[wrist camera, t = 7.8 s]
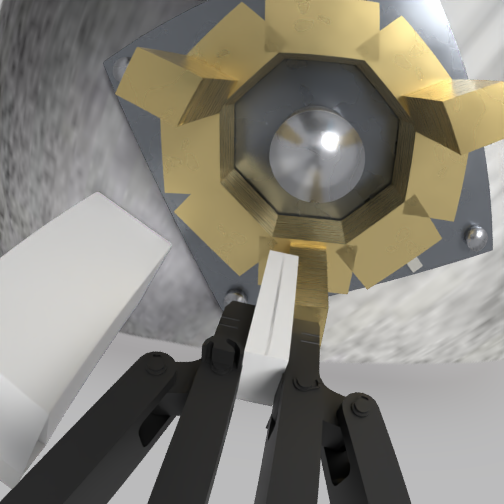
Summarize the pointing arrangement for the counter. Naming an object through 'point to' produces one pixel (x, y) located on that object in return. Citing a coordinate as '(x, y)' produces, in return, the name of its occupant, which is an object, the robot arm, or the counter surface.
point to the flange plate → (313, 141)
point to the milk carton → (64, 316)
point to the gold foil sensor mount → (302, 228)
